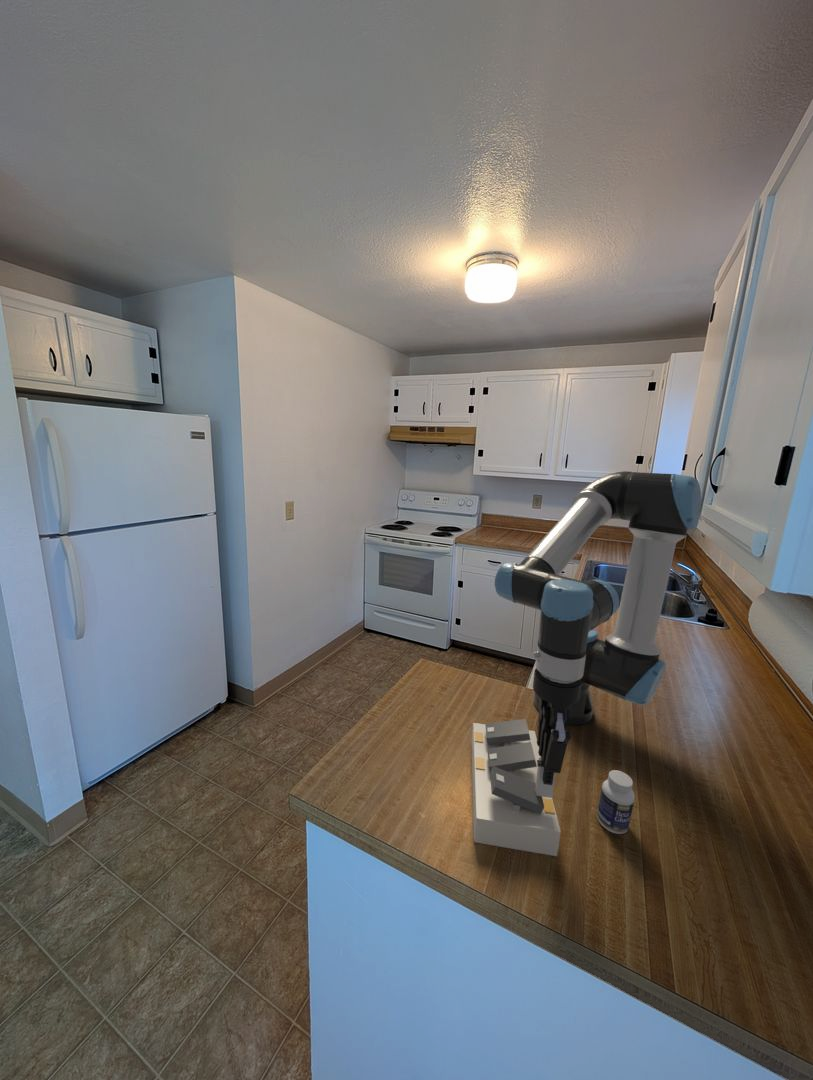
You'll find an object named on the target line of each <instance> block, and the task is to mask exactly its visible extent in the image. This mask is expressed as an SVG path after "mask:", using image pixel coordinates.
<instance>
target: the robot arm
mask: <svg viewBox="0 0 813 1080" xmlns="http://www.w3.org/2000/svg"><path fill="white" fill-rule="evenodd" d="M701 507H702V493H701V486H700V482H699V481H698V480H697V478H695V477H693V476H690V475H684V474H683V475H682V474H676V473H660V472H659V473H656V472H637V471H635V472H634V471H618V472H617V471H616V472H613V473H609V474H607V475H604V476H602V477H600V478H597V479H596V480H594V481H592V482H590V483H588V484H587V485H585V486H584V487H583V488H582V489H581V490H579V492H578V493H577V494H576V495H575V496H574V497H573V499H572V501H571V507H569V509H567V511H566V512H565V513H564V514H563V516H561V518H560V519H559V520H558V521H557V522H556V523H555V525H553V527H552V528H551V529H550V530H549V531H548V532H547V533H546V534H545V536H544V537H543V538H542V539H541V540H540V541H539V542H538V543H537V545H535V546H534V548H533V549H532V550H531V551H530V552H529V554H527V556H526V557H525V558H524V559H523V560H522V561H521V562H520V563H519V564H517V563H516V562H514V563H512V562H507V563H503V564H502V565H500V567H499V568H498V569H497V572H496V574H495V577H494V588H495V592H496V594H497V595H498V596H499V597H500V598H503V599H505V600H507V601H510V602H512V603H514V604H520V605H522V606H527V607H528V608H532V609H536V610H539V611H540V616H539V617H540V618H539V630H538V639H537V646H536V647H537V651H533V652H532V656H533V657H534V658H535V669H534V672H533V674H534V675H533V683H532V689H533V691H534V694H533V695H534V696H533V704H534V707H535V708H536V710H537V711H538V723H537V736H536V738H537V745H538V746H539V751H538V754H539V756H541V758H539V760H537V765H538V769H537V778H536V787H535V791H536V795H537V796H542V797H549V798H552V799H553V798H554V790H555V789H554V788H555V779H556V774H560V773H561V771H562V767H563V763H564V758H565V754H566V750H567V747H568V743H569V741H571V737H572V736H571V732H570V731H567V730H566V728H567V727H566V726H567V725H569V726H570V725H571V726H581V725H585V724H587V723H589V722H590V721H591V720H592V718H593V714H594V705H593V699H592V695H591V689H590V686H591V687H594V688H597V689H598V690H601V691H604V692H605V693H608V694H610V695H613V696H615V697H617V698H620V699H622V700H623V701H625V702H626V701H627V702H630V703H633V704H635V705H637V706H644V705H647V704H648V703H650V702H651V700H652V698H654V696H655V694H656V692H657V690H658V688H659V687H660V684H661V683H662V682H661V681H662V679H663V676H664V674H665V671H666V667H667V666H666V664H667V663H666V662H665V661H664V660H662V659H660V654H661V651H660V649H659V647H658V646H657V644H656V643H655V640H656V635H657V631H658V628H659V623H660V619H661V614H662V609H663V605H664V600H665V595H666V591H667V587H668V582H669V578H670V574H671V568H672V565H673V564H672V563H673V559H674V554H675V550H676V545H677V543H679V542H680V541H682V540H683V539H685V538H687V533H688V530H689V531H692V530H696V528H697V527H698V526H699V520H700V516H701ZM612 519H613V520H617V519H618V520H624V521H629V522H628V528H627V529H628V530H629V532H630V533H631V534H632V535H633V539H632V544H631V550H630V554H629V557H628V558H629V559H628V564H627V567H626V572H625V578H624V583H623V587H622V592H621V597H620V598H619V595H618V592H617V590H616V589H615V587H614V586H612V585H611V584H610V583H609V582H607V581H605V580H602V579H589V580H587V581H586V580H585V581H582V580H579V579H575V578H571V577H567V576H562V575H561V574H562V572H563V571H564V570H565V569H566V567H567V566H568V565H569V564H570V562H571V561H572V560H573V559H574V557H576V555H577V553H578V552H579V551H580V550H581V549H582V547H584V545H585V544H586V543H587V541H588V540H589V538H590V537H591V536H592V535H593V534H594V532H595V531H596V530H597V528H599V527H600V526H603V525H606V524H607V523H608V522H609V521H610V520H612ZM617 610H618V612H617ZM615 613H617V616H616V620H615V621H616V623H615V626H614V631H613V632H612V633H610V634H608V635H606V636H605V639H604V640H602V639H599V636H600V635H599V633H598V631H597V630H595V629H596V628H597V627H599V626H601V625H602V624H603V623H606V622H608V621H609V620H610V619H611V617H612V616H613V615H614V614H615Z"/></svg>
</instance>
